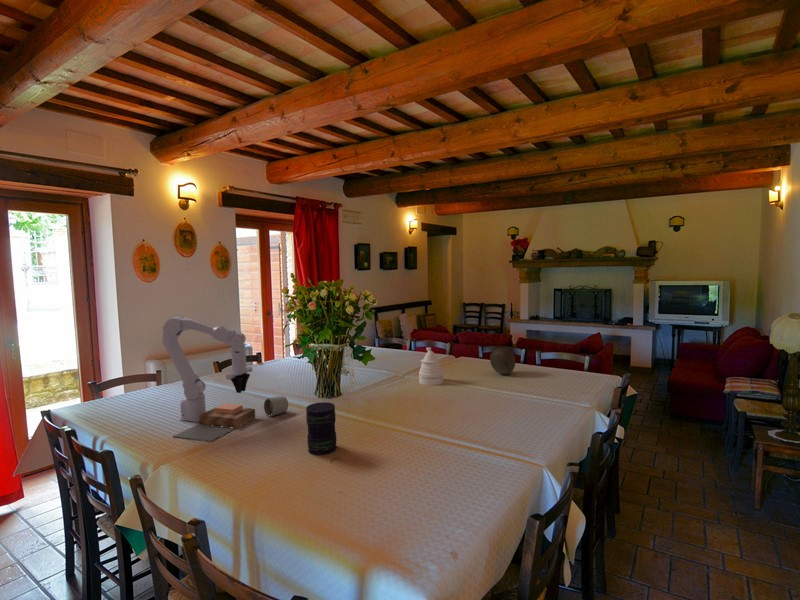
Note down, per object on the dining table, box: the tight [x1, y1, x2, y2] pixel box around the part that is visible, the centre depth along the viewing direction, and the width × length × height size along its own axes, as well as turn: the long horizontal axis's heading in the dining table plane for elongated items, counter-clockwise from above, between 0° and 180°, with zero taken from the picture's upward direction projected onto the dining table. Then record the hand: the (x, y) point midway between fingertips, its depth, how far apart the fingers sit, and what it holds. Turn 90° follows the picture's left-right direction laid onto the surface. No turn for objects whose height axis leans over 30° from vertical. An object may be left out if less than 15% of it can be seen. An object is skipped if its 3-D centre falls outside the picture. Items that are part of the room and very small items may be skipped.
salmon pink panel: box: [214, 403, 244, 414], centre depth 181 cm, size 9×6×2 cm, turn 72°
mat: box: [172, 423, 236, 442], centre depth 168 cm, size 18×13×1 cm
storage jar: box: [305, 401, 337, 456], centre depth 149 cm, size 10×10×15 cm
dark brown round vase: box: [489, 347, 516, 376], centre depth 243 cm, size 14×14×15 cm
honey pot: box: [418, 347, 444, 386], centre depth 231 cm, size 13×13×18 cm
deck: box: [198, 407, 256, 429], centre depth 180 cm, size 18×12×4 cm, turn 72°
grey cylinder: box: [263, 395, 289, 417], centre depth 189 cm, size 11×8×8 cm
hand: (240, 391), depth 188 cm, fingers closed
